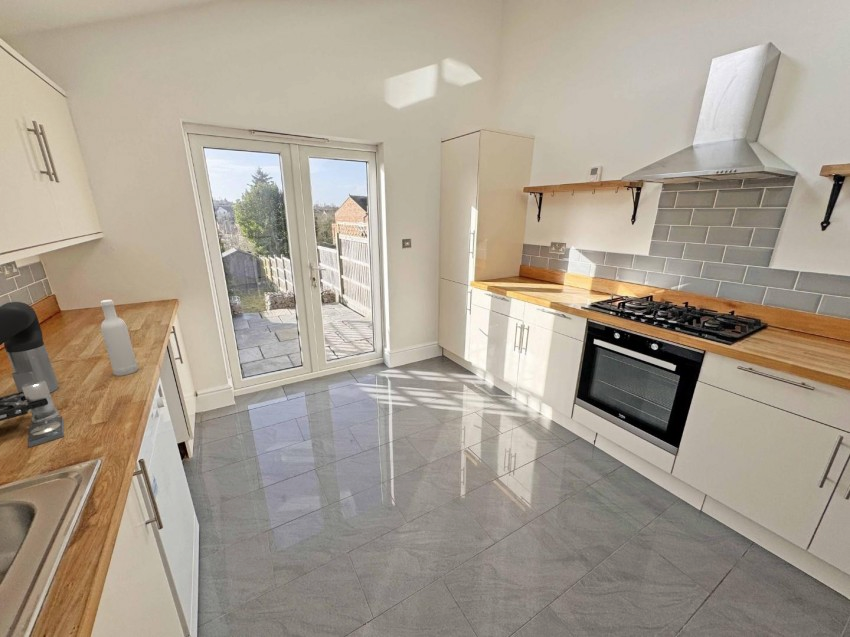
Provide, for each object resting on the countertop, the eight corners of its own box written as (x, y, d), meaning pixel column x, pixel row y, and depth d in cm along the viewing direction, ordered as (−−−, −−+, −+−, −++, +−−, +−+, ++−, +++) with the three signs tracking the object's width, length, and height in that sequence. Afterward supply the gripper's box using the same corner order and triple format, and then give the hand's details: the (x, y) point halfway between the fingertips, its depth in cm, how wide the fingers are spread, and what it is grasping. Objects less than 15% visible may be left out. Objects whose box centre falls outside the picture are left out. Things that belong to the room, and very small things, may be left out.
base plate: (63, 436, 106) (62, 431, 105) (29, 447, 101) (27, 442, 100) (63, 420, 114) (62, 415, 113) (31, 429, 109) (29, 424, 109)
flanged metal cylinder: (48, 422, 113) (35, 388, 109) (27, 423, 112) (13, 389, 109) (64, 412, 118) (52, 379, 115) (44, 413, 118) (32, 380, 114)
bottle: (142, 370, 149) (123, 299, 140) (119, 377, 142) (97, 304, 133) (133, 366, 153) (114, 297, 144) (110, 373, 146) (89, 301, 137)
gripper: (-27, 420, 109) (48, 399, 120) (-31, 439, 99) (52, 414, 111) (-37, 397, 106) (41, 378, 118) (-42, 415, 97) (44, 393, 109)
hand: (46, 396), depth 114 cm, fingers open, 8 cm apart
